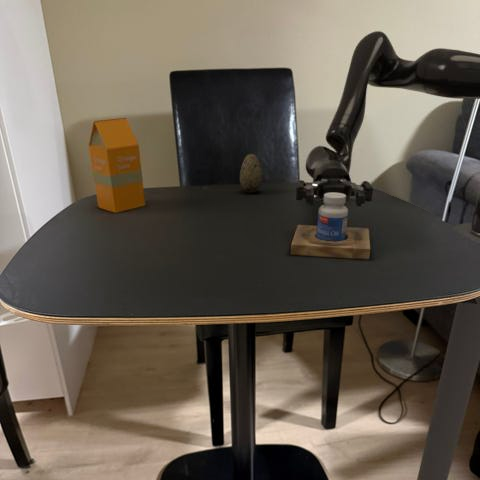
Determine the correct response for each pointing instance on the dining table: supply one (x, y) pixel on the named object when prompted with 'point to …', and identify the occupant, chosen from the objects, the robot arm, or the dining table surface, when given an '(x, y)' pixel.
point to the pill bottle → (332, 218)
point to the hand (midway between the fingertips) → (335, 200)
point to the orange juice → (116, 165)
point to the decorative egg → (250, 174)
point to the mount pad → (331, 243)
